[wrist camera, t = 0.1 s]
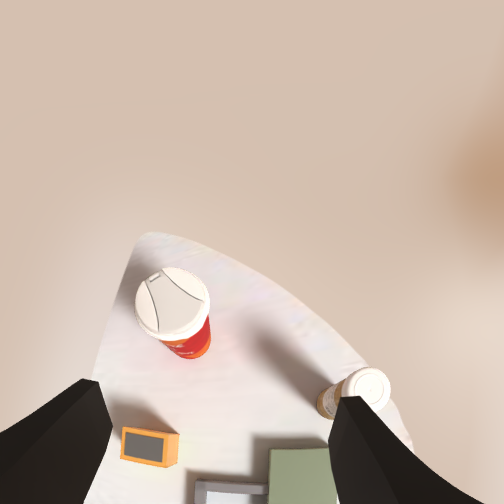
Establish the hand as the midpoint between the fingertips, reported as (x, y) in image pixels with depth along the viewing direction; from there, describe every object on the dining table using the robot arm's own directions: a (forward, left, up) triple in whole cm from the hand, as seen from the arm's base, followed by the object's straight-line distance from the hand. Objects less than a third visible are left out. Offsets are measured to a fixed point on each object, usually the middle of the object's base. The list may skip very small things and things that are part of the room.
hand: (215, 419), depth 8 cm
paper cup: (+11, +7, -32) cm, 35 cm away
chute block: (-4, +10, -32) cm, 34 cm away
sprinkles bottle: (+3, -12, -32) cm, 35 cm away
